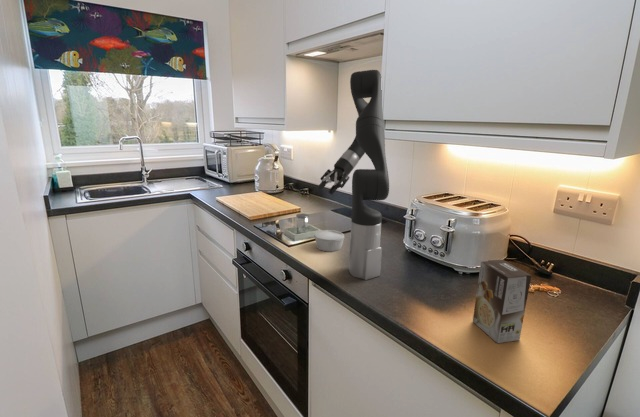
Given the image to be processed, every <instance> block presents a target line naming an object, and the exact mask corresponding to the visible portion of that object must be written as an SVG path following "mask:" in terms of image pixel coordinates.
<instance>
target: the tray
mask: <svg viewBox="0 0 640 417" xmlns="http://www.w3.org/2000/svg"><path fill="white" fill-rule="evenodd" d="M318 231H322V229H320V228H318V227H316V226H313V225H312V224H310V223H309V232H307V233H301V234H297V225H296V226H291V227H285V228H283V235H284V236H285V237H288V238H289V239H291V240H292V241H293V242H298V241H303V240H308V239H313V238H315V233H316V232H318Z"/></svg>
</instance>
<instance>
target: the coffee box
mask: <svg viewBox="0 0 640 417" xmlns="http://www.w3.org/2000/svg"><path fill="white" fill-rule="evenodd" d="M479 266H480V267H479V273H478V280H477V288H476V296H475V301H474V302H475V303H474V311H473V316H472V322H473V323H474V324H475V326H477V327H479V328H480V329H481V330H482V331H483V332H484V333H485V334H486V335H488V336H489V338H491V339H492V340H493V341H494V342H495V343H497V344H502V343H509V342H514V341H520V340H521V335H522V334H521V333H522V328H523V324H524V323H523V322H524V318H525V312H526V306H527V303H528V302H527V301H528V297H529V296H528V295H529V290H530V285H531V280H532V274H530V273H528V272H526V271H524V270H523V269H521V268H519V267H517V266H515V265H514V264H512V263H510V262H508V261H507V260H504V259H490V260H486V261H480V265H479Z"/></svg>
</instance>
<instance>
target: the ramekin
mask: <svg viewBox="0 0 640 417" xmlns="http://www.w3.org/2000/svg"><path fill="white" fill-rule="evenodd" d="M314 239H315V245H316V248H317V249H319V250H320V251H322V252H331V253H332V252H337V251H339V250H341V248H343V243H344V240H345V234H344V233H343V232H341V231H338V230H334V229H325V230H324V229H323V230H322V229H321V231H318V232H316V233H315V237H314Z"/></svg>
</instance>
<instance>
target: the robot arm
mask: <svg viewBox="0 0 640 417" xmlns="http://www.w3.org/2000/svg"><path fill="white" fill-rule="evenodd" d="M381 78H382V73H381V72H380V71H379V70H377V69H368V70H361V71H354V72H352V73H351V75H350V81H349V84H350V93H351V98H352V100H353V103H354V106H355V109H356V112H357V115H358V116H357V118H356V121H355V137H354V138H353V141H352V143H351V144H350V145H349V147H347V149H346V150H345V151H344V152H343V153H342V155H341V156H340V157H339V158H338V159H337V161H336V162H335V163H334V165H333V167H334V168H333V169H332V170H331V169H329V168H328V169H327V170H326V171H325V172H324V173H323V175H322V176H321V177H320V180H321V182H320V184H318V186H317V188H316V189H317V190H318V191H320V192H321V191H322V190H324V188H325V186H326V185H327V184H331V183H333V185H331V187H330V188H329V190H327V192H328V194H329V195H331V196H333V194H334V193H335V192H336V191H337V190H338V189H342V188H344V187H345V185H346V183H347V182H348V181H349V180H350V178H352V180H351V195H352V196H351V197H352V198H351V202H352V203H351V220H350V222H351V223H350V243H349V266H348V267H349V268H348V271H349V272H348V273H349V274H350V276H353V277H354V278H357V279H362V280H364V281H367V280H370V279H371V280H372V279H373V278H377V277H380V276H381V271H382V270H381V269H382V268H381V267H382V253H383V252H382V251H383V247H381V232H382V222H383V221H382V220H383V215H382V213H381V212H380V211H379V210H377V209H374V208H372V207H369V206H367V205H366V204H364V202H363V201H384V200H386V199H387V198H388V196H389V194H390V180H389V179H390V177H389V171H388V164H387V158H386V156H387V155H386V148H385V147H386V144H385V141H386V137H385V122H384V114H383V89H382V90H381ZM365 99H370V100H369V102H367V101H366V100H365ZM365 154H366V155H367V157H368V158H369V159H370V161H371V163H372V165H373V168H374V169H372V168H365V169H364V168H359V169H355V168H356V166H357V164H358V163H359V161H360V160H361V158H363V156H364V155H365ZM354 169H355V170H354ZM353 170H354V171H353ZM352 171H353V173H352V177H350V174H351V172H352Z"/></svg>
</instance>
